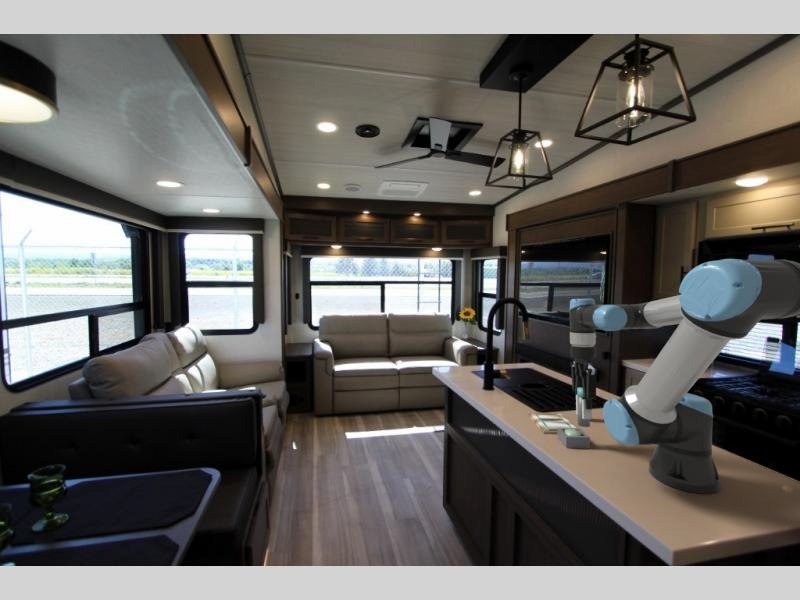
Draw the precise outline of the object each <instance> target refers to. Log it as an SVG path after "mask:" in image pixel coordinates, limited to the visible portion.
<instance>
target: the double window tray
mask: <svg viewBox="0 0 800 600" xmlns="http://www.w3.org/2000/svg"><path fill="white" fill-rule="evenodd" d="M528 417H529V418H530V419H531V420H532V422H533V423H534V424H535V425H536V426H537V427H538V428H539V430H540V431H541V432H542V433H543V434H550V435H551V434H552V435H553V434H554V435H555V434H556V435H557V428H578V427H576V425H575V424H573V423H572V422H571V421H570V420H569V419H568V418H567V417H566V416H564V414H562V413H553V412H552V413H544V412H543V413H542V412H541V413H540V412H538V413H536V412H535V413H528Z"/></svg>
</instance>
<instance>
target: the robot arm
mask: <svg viewBox="0 0 800 600" xmlns="http://www.w3.org/2000/svg"><path fill="white" fill-rule="evenodd" d="M678 293H679V294H677V295H675V296H670V297H666V298H660V299H658V300H657V299H656V300H652V301H649V302H648V301H647V302H643V303H636V304H596V301H595V299H594V298H572V299H570V301H569V310H568V311H569V312H568V313H569V343H570V347H569V349H570V351H569V352H570V357H572V358H573V359H574V360H573V361H570V368H571V370H570V371H571V386H572V387H571V388H572V392H574V394H575V400H576V401H575V405H576V406H575V414H576V415H577V416H578V396H577V388H578V387H583V395H584V397H581V398H582V418H583V419H590V420H593V400H595V399H597V374H598V371H599V370H598V368H595V367H593V361H592V360H593V359H595V358H596V357H597V347H596V346H595V345H596V341H597V334H596V331H597V330H599V331H600V330H602V331H605V332H610V331H611V332H614V331H615V332H617V331H620V330H641V329H642V330H643V329H644V330H653V329H659V328H662V327H664V326H665V327H666V326H672V325H677V327H676V329H675V330H674V331H673V333H672V335H671V336H670V337H669V339H668V340H667V342H666V343H665V345H664V346H663V348H662V349H661V350H660V351H659V354H658V355H657V357H655V359H654V361H653V363H652V364H651V365H650V367H649V368H648V370H647V371H646V372H645V374H644V376H643V377H642V379H641V380H640V381H639V383H638V384H634V385H630V386H629V387H627V388H626V389H625V391H624V392H623V394H622V396H621V397H620V398H612V399H609V400H606V401H605V403H604V404H603V406H602V407H603V408H602V416H603V417H602V418H603V421H604V424H605V427H606V429H607V431H608V433H609V434H610V436H611V437H612V438H613V440H615V441H616V442H617V443H618V444H620V445H622V446H625V447H626V446H627V447H628V446H630V447H632V446H633V447H639V446H647V445H649V446H650V445H655V444H657V445H655V447H654V450H653V451H652V452H653V453H652V454H651V458H650V459H649V461H648V471H649V473H650V475H651V476H652V477H653V478H654V479H655V480H657V481H659V482H660V483H662V484H665V485H667V486H669V487H672V488H674V489H677V490H679V491H685V492H688V493H689V492H690V493H693V494H694V493H695V494H703V495H704V494H715V493H717V492H719V491H720V490H721V478H720V475H719V472H718V470H717V467H716V464H715V461H714V459H713V455H712V453H713V425H714V424H713V423H714V421H713V418H714V415H713V405H712V403H711V402H710V400H709V399H707V398H705V397H702V396H699V395H697V394H692V393H689V390H690V389H691V388H692V387H693V386H694V385H695V383H696V382H697V381H698V380H699V379H700V377H701V376H702V375H703V374H704V373H705V371H706V370H707V369H708V367H710V365H711V364H712V363H713V362H714V360H715V359H716V358H717V357H718V356H719V354H720V353H721V352H722V351H723V350H724V348H725V347H726V345H728V343H729V342H730V341H732V340H741V339H744V338H745V337H747V336H748V334H749V333H750V332H751V331H752V330H753V329H754V328H755V327H756V325H757V324H758V323H759V322H760V321H761V320H776V319H786V318H791V317H796V316H798V315H800V263H798V262H797V261H793V260H787V259H739V258H738V259H737V258H736V259H735V258H724V259H719V260H711V261H706V262H704V263H701V264H699V265H696V266H695V267H694V268H692V269H691V270H690V271H689V272H688V273H687V274H686V275H685V276H684V278H683V279H682V281H681V283H680V285H679V288H678Z"/></svg>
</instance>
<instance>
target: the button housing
mask: <svg viewBox="0 0 800 600" xmlns="http://www.w3.org/2000/svg"><path fill="white" fill-rule="evenodd" d="M566 429H575V430H578V431H580V432H581V433H582V436H567V435H566V434H565V430H566ZM556 436H557V439H558V441H559V440H560V441H561V444H562V445H563V446H564V448H566V449H590V448H591V437H590V435H588V434H587V433H586V432H584V430H582V429H581V428H580V427H577V428H557V434H556ZM560 441H559V442H560Z"/></svg>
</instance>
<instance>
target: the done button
mask: <svg viewBox="0 0 800 600" xmlns="http://www.w3.org/2000/svg"><path fill="white" fill-rule="evenodd" d="M565 434H566V435H567V436H582V433H581V432H580V431H578V430H575V429H566V430H565Z"/></svg>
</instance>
